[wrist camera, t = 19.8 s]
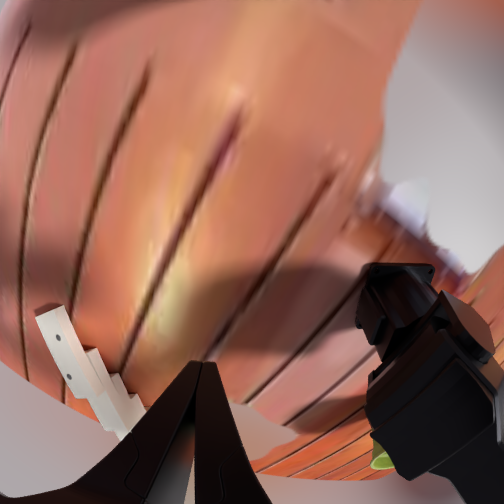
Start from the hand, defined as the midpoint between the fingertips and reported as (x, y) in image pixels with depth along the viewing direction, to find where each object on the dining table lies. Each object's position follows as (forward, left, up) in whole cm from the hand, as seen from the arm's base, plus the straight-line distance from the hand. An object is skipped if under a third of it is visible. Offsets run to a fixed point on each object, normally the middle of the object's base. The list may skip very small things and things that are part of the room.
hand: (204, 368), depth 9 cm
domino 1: (+19, +10, -12) cm, 25 cm away
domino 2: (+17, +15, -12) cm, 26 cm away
